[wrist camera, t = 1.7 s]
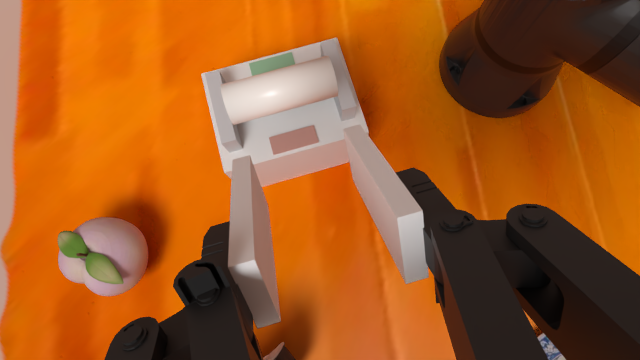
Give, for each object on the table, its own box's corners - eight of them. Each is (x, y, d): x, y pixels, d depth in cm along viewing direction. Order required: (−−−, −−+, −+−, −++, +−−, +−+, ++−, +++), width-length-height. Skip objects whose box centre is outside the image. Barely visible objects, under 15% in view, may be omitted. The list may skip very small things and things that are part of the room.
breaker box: (361, 158, 50) (372, 121, 37) (244, 191, 49) (216, 165, 37) (335, 80, 53) (337, 20, 40) (225, 110, 52) (191, 59, 40)
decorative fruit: (177, 241, 48) (139, 233, 38) (145, 302, 46) (96, 310, 37) (115, 211, 49) (63, 196, 39) (81, 269, 48) (18, 269, 38)
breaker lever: (330, 97, 42) (356, 91, 27) (239, 122, 41) (214, 130, 26) (323, 70, 41) (346, 48, 26) (231, 95, 41) (200, 87, 26)
